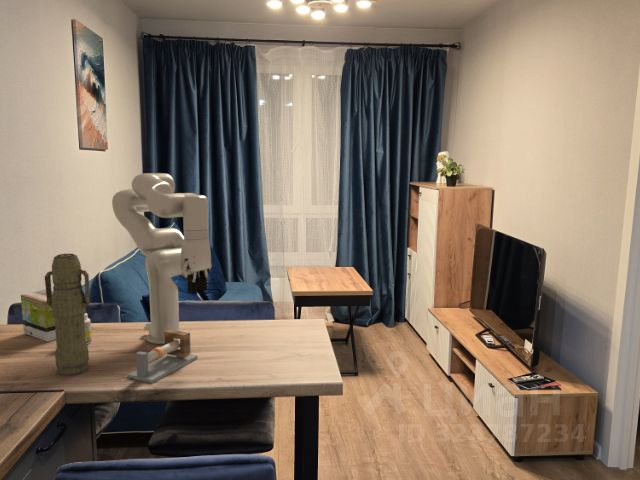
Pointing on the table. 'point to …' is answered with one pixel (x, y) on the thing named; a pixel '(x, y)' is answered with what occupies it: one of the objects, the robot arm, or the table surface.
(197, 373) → the table surface
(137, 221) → the robot arm
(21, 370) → the table surface
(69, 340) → the thermos
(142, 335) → the table surface
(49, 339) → the tea box
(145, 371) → the pipe stand
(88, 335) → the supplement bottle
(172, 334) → the collar
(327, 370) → the table surface
